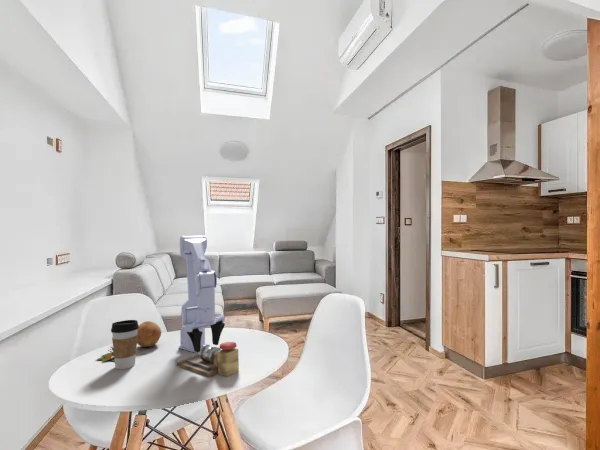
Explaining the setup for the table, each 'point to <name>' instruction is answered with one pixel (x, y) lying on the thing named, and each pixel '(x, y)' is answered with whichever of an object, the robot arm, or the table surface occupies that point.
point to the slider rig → (215, 362)
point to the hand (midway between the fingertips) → (206, 347)
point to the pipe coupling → (208, 353)
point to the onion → (148, 334)
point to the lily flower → (107, 356)
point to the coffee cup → (124, 343)
